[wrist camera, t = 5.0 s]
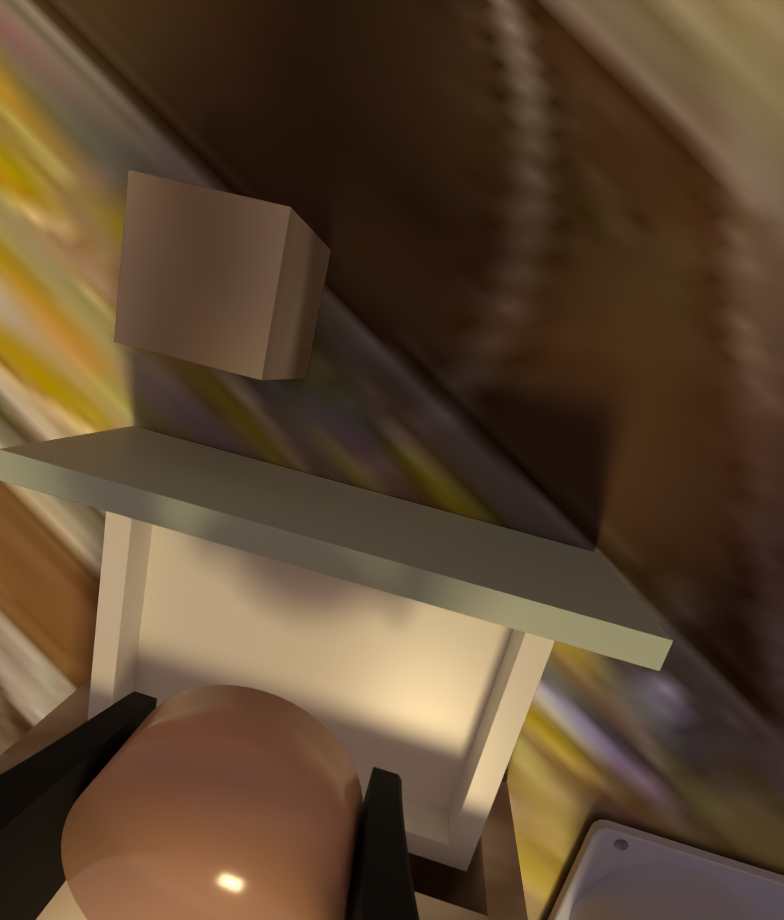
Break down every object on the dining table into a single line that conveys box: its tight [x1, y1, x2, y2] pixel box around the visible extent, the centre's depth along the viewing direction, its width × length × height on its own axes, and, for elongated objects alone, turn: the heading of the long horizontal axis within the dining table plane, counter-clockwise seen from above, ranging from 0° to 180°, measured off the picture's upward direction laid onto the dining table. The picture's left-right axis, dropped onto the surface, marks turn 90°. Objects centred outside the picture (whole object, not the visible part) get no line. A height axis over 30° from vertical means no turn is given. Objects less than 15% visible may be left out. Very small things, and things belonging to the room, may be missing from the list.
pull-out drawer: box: [0, 426, 673, 872], centre depth 13 cm, size 16×10×5 cm, turn 76°
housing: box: [0, 678, 528, 920], centre depth 15 cm, size 16×11×5 cm
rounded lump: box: [61, 685, 363, 920], centre depth 9 cm, size 5×5×2 cm
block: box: [114, 170, 331, 380], centre depth 12 cm, size 4×4×4 cm
